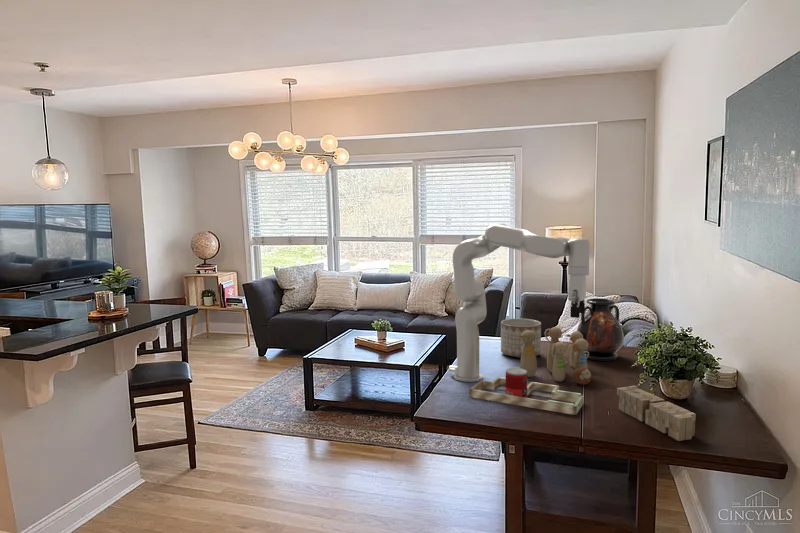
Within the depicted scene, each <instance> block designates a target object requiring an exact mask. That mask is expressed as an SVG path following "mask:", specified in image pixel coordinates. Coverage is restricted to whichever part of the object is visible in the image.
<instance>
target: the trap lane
mask: <svg viewBox="0 0 800 533" xmlns="http://www.w3.org/2000/svg"><path fill="white" fill-rule="evenodd" d="M484 389H486V390H492V391H486V390H484ZM495 390H496V391H501V392H502V391H503V392H504V391H505V392H506V377H500V376H497V377H496V378H494V380H492V381H490V380H484V379H482V380H480V381H477V383H476V384H474V385H473V386H472V387H470V389H469V394H468V395H469V398H472V397H473V398H474V399H481V400H484V399H485V400H486V401H490V400H491V402H496V401H497V402H498V403H503V404H507V405H514V406H520V407H526V408H532V409H537V410H545V411H549V412H556V413H561V414H568V415H573V416H577V414H578V413H579V411H580V409H581V408H582V407H583V405H584V399H585V398H584V395H582V393H579V392H573V391H568V390H567V391H566V390H561V389H560V385H555V384H548V383H543V382H535V381H531V382H530V383H529V384H527V396H535V397H539V398H540V397H542V398H547V400H544V399H543V400H542V399H535V398H529V397H527V398H525V397H519V396H512V395H506V393H505V394H504V393H500V392H494V391H495ZM485 400H484V401H485Z"/></svg>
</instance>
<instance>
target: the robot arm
mask: <svg viewBox="0 0 800 533" xmlns="http://www.w3.org/2000/svg"><path fill="white" fill-rule="evenodd" d="M590 244H591V243H590V239H587V238H583V237H582V238H581V237H579V238H577V237H576V238H574V237H573V238H568V237H547V236H542V235H538V234H536V233H535V234H534V233H532V232H530V231H529V230H527V229H524V228H519V227H513V226H509V225H508V224H505V223H493V224H490V225H489V226H488V227H487V228H486V229H485V232H484V234H482V235H480V236H479V237H475V238H469V239H466V240H463V241H461V242H460V243H458V245H457V246H456V247H455V248H454V250H453V252H452V266H453V274H454V275H453V279H454V290H455V296H456V299H458V301H460V302H462V303H464V305H462V306H461V307H459V308H458V310H457V311H456V313H455V318H454V319H455V320H454V322H455V328H456V365H449V366H448V370H449V372H454V373H453V379H454V380H456V381H459V382H466V383H474V382H480V381H481V380H484V379H483V378H484V375H483V373H481V372H480V332H479V326H478V325H480V323H483V322H484V321H485V320H486V317H487V312H488V311H487V300H486V289H485V286H484V284H483V282H482V280H480V279H479V278H476V277H475V269H474V265H473V260H475V259H480V258H484V257H486V256H487V255H489V254H491V253H493V252H495V251H496V250H497V249H499V248H501V247H503V248H508V249H512V250H517V251H521V252H524V253H528V254H531V255H535V256H541V257H544V258H545V257H546V258H549V259H559V258H562V257H567V256H568V257H567V258H568V262H567V264H568V269H567V270H568V271H567V275H568V276H569V280H568V292H567V294H568V295H567V296H568V297H567V299H568V301H569V302H570V318H574V319H575V318H576V319H579V318H580V317H581V313H585V314H586V311H585V306H586V305H585V302H586V301H585V299H586V297H587V296H586V295H587V276H589V275H590V249H591V248H590Z"/></svg>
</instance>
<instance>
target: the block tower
mask: <svg viewBox="0 0 800 533" xmlns="http://www.w3.org/2000/svg"><path fill="white" fill-rule="evenodd" d="M616 395H617V396H618V397H619V401H618V410H620V411H621V412H623V413H625V414H627V415H629V416H631V417H632V418H634V419H636V420H638V421H640V422H645V424H646V425H648V426H650V427H651V428H654V430H655V429H656V430H658V431H659V432H661V433H662V434H667V435H668V437H670V438H672V439H674V440H675V441H677V442H681V441H685V440H686V441H688V440H692V437H695V432H696V416H697V414H696V413H694V412H691V411H690V410H689V409H685V408H684V407H681V406H679V405H677V404H674V403H673V402H671V401H665V399H664V398H661V397H659V396H657V395H655V394H653V393H650V392H648V391H645V390H643V389H642V388H638V386H637V385H629V386H623V387H617V388H616Z"/></svg>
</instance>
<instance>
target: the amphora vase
mask: <svg viewBox="0 0 800 533" xmlns="http://www.w3.org/2000/svg"><path fill="white" fill-rule="evenodd" d="M585 302H586V303H587V304H588V305H589V306H588V305H585V313H580V322H579V324H578V326H577V328H576V331H578V332H580V333H581V334H582V335H583V339H585V340H586V341H587V342H588V344H589V346H588V349H587V350H585V351H588V352H589V356H588V358H587V359H586V360H591V361H597V362H611V361H614V360H616V359H617V358H618V357H619V356H618V353H617V352H618V351H619V350H620V349H621V348H622V346H623V343H624V339H625V338H624V337H625V336H624V330H623V327H622V325H621V323H620V309H619V307H618V305H616V304H615V303H616V302H615V300H614V299H613V300H612V299H609V298H599V297H597V298H596V297H595V298H589V299H587V300H586V301H585ZM613 309H614V310H615V315H614V314H612V310H613ZM586 310H588V311H589V312H587V314H586ZM585 314H586V315H585ZM585 355H586V357H587V355H588V354H587V352H586V353H585ZM610 360H611V361H610Z"/></svg>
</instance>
